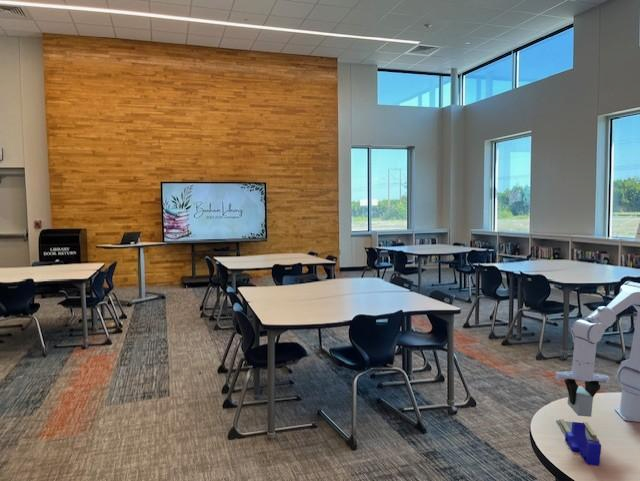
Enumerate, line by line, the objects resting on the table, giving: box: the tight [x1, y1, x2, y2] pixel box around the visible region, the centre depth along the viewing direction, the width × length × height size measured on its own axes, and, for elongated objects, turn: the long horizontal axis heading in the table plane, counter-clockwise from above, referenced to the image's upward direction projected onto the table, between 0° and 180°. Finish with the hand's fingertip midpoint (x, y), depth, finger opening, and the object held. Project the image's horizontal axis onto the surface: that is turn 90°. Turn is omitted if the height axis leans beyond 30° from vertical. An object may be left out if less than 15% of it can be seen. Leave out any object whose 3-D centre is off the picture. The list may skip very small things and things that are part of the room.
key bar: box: [567, 385, 594, 418], centre depth 142 cm, size 8×4×6 cm, turn 173°
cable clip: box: [564, 421, 602, 467], centre depth 131 cm, size 12×4×6 cm, turn 171°
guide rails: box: [558, 418, 598, 439], centre depth 142 cm, size 8×8×1 cm
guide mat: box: [555, 419, 600, 443], centre depth 143 cm, size 9×10×1 cm
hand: (579, 403), depth 142 cm, fingers closed on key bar, 4 cm apart
